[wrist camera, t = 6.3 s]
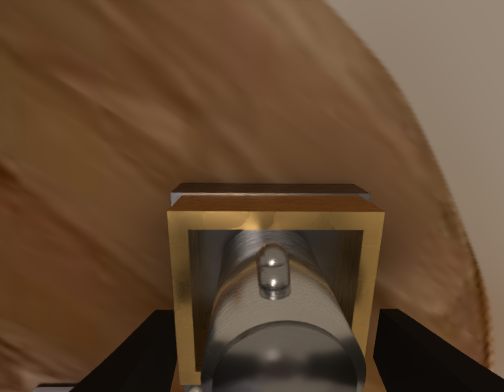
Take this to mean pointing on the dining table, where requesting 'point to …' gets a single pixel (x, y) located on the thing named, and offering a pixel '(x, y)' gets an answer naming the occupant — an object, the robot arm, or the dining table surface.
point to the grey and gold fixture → (268, 218)
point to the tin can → (277, 322)
